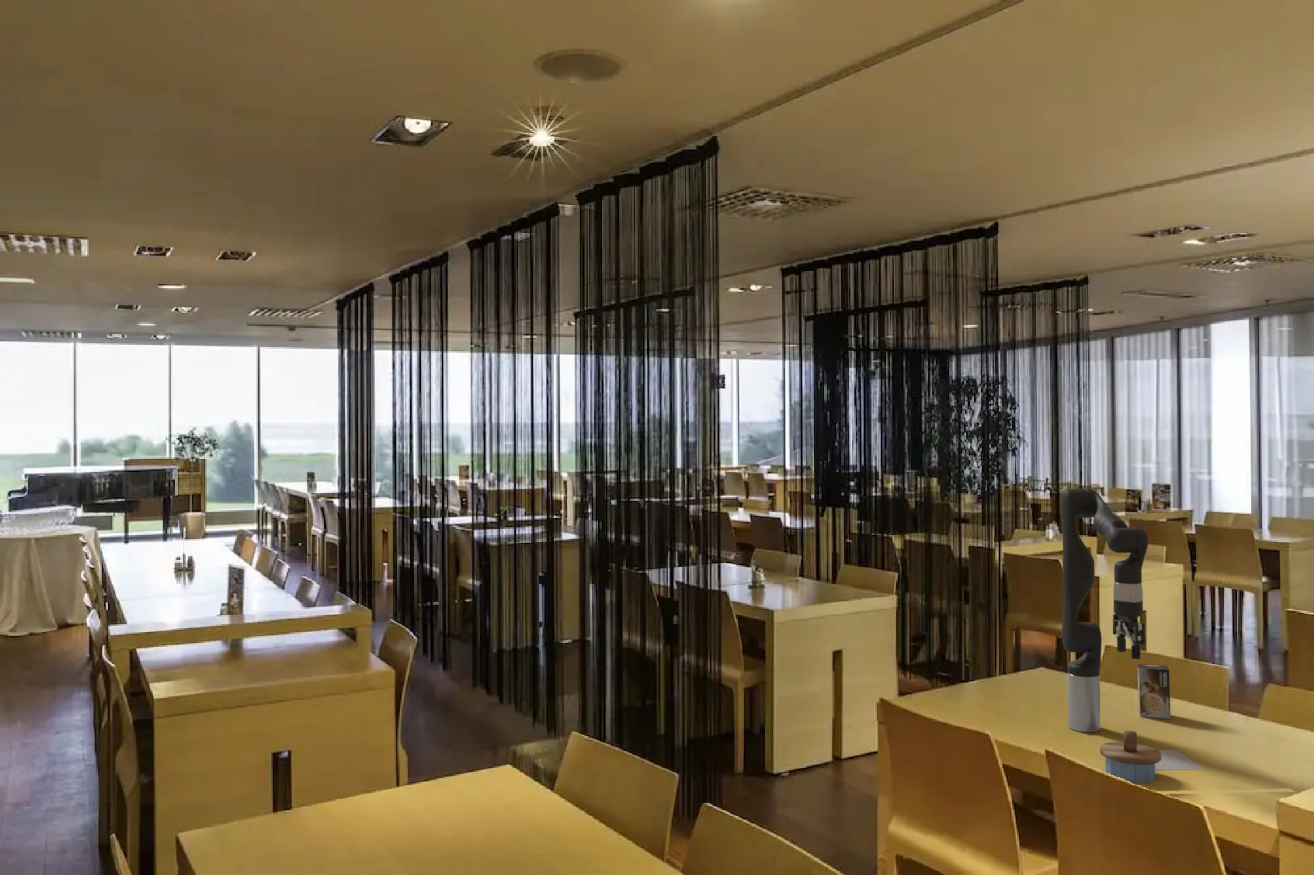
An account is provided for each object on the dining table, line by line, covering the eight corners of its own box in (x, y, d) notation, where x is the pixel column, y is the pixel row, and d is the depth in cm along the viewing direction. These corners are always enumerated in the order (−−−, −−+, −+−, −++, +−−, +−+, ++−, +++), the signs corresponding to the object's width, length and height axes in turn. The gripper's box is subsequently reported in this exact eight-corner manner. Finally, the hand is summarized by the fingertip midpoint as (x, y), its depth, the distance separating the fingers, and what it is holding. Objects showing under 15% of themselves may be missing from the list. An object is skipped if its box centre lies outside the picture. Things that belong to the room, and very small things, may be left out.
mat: (1119, 753, 288) (1119, 750, 288) (1175, 752, 288) (1175, 749, 288) (1147, 773, 272) (1147, 770, 272) (1205, 772, 272) (1205, 769, 272)
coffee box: (1168, 714, 326) (1168, 665, 325) (1170, 719, 320) (1170, 669, 319) (1137, 711, 329) (1137, 663, 329) (1139, 717, 323) (1138, 667, 323)
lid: (1090, 746, 277) (1090, 724, 277) (1144, 745, 277) (1143, 723, 277) (1115, 765, 262) (1115, 741, 262) (1172, 764, 262) (1172, 740, 262)
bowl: (1098, 770, 275) (1098, 748, 275) (1141, 769, 275) (1141, 747, 275) (1118, 785, 263) (1118, 763, 263) (1164, 785, 263) (1163, 762, 263)
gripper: (1103, 594, 289) (1104, 649, 289) (1126, 603, 274) (1127, 661, 275) (1129, 593, 289) (1129, 649, 289) (1153, 602, 274) (1154, 661, 275)
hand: (1128, 655), depth 282 cm, fingers open, 8 cm apart
